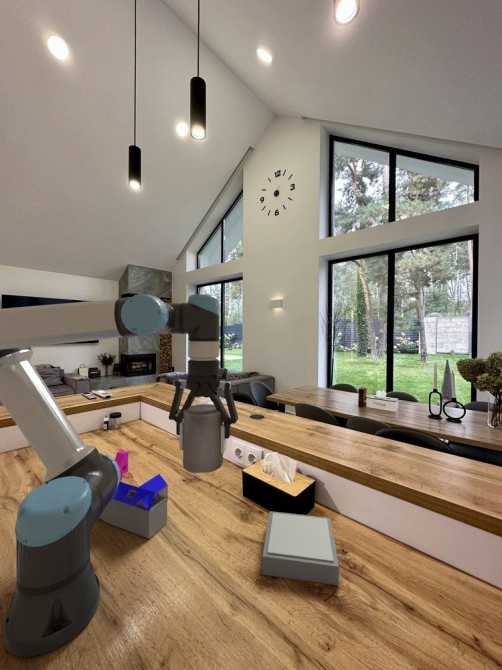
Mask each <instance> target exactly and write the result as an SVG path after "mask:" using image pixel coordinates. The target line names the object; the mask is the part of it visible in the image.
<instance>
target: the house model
mask: <svg viewBox="0 0 502 670" xmlns="http://www.w3.org/2000/svg"><path fill="white" fill-rule="evenodd" d="M168 501H169V484H168V483H167V481H165V479H164V477H162V475H161V474H160V473H158V474H157V475H154V476H153V477H152V478H150V479H149V480H147V481H145V482H144V483H142V484H141V485H139V486H136V485H132V484H128V483H126V482H122V481H120V482H119V485H118V488H117V490H116V493H115V495H114V497H113V498H112V500H111V501H110V502H109V503H108V505H107V506H106V508H105V509H104V511H103V512H102V514H101V515H100V517H99V518H98V519H101V520H103V522H104V523H107V524H110V525H112V526H115V527H118V528H119V529H122V530H126V531H128V532H131V533H133V534H135V535H138V536H141V537H143V538H146V539H148V540H150V539H151V538H152V537H153V536H155V534H156V533H158V532H159V531H160V530H161V529H163V527H164V526H165V525H167V523H168Z"/></svg>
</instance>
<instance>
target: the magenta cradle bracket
mask: <svg viewBox="0 0 502 670" xmlns="http://www.w3.org/2000/svg"><path fill="white" fill-rule="evenodd" d="M114 460H115V461H116V463H117V464H118V466H119V469H120V481H122V480H123V475H125V474H126V473H128V472H129V451H126V450H123V449H121V450H118V451H117V452H116V453H115V457H114Z"/></svg>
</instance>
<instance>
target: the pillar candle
mask: <svg viewBox="0 0 502 670" xmlns="http://www.w3.org/2000/svg"><path fill="white" fill-rule="evenodd" d="M222 424H223V421H222V419H221V417H220V412H219V411H217V410H216V408H215V406H214V404H212V403H211V404H209V403H206V404H205V403H202V404H192V405H191V406H190V407H189V408H188V409H184V417H183V450H182V455H183V456H182V467H183V469H184V470H185V471H186V472H189V473H193V474H200V473H203V474H205V473H206V474H207V473H213V472H216V471H217V470H219V469H221V467H222V466H223V463H224V454H223V453H221V425H222Z"/></svg>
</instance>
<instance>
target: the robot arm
mask: <svg viewBox="0 0 502 670" xmlns="http://www.w3.org/2000/svg"><path fill="white" fill-rule="evenodd" d="M187 297H188V298H187V299H188V300H187V302H181V303H177V302H164V301H163V300H161V299H160V298H158V297H157V296H155V295H152V294H146V293H143V294H135V295H133V296H131V297H127V298H126V297H125V298H115V299H102V300H91V301H89V300H88V301H81V302H79V301H77V302H69V303H68V302H67V303H65V302H64V303H56V304H43V305H32V306H22V307H21V306H19V307H10V308H0V402H1V404H2V405H3V406H4V408H5V410H6V411H7V413H8V414H9V416H10V417H11V419H12V420H13V421H14V423H15V424H16V426H17V428H18V429H19V431H20V432H21V433H22V436H24V438H25V439H26V441H27V442H28V444H29V446H31V448H32V450H33V451H34V453H35V454H36V455H37V457H38V459H39V460H40V462H41V463H42V465H43V466H44V468H45V470H46V473H45V475H44V479H43V484H41V485H39V486H37V487H36V488H34V489H33V490H32V491H30V492H28V494H27V495H26V496H25V497H24V498H23V500H22V501H21V503H20V505H19V506H18V507H17V508H18V509H17V513H16V520H15V525H14V527H15V528H14V534H15V545H16V546H15V550H16V551H15V554H16V555H15V556H16V557H15V558H16V559H15V560H16V561H15V563H16V566H15V567H16V568H15V570H16V573H15V574H16V575H15V577H16V578H15V579H16V585H15V586H16V588H15V591H14V593H13V596H12V600H11V602H10V605H9V608H8V611H7V613H6V616H5V618H4V622H3V646H4V647H5V649H6V651H8V653H10V654H11V655H13V656H17V657H24V658H26V657H27V658H28V657H35V656H38V655H39V654H40V655H43V654H46V653H48V652H51V651H53V650H55V649H57V648H59V647H61V646H63V645H64V644H66V643H67V642H69V641H70V640H72V639H73V638H74V637H76V636H77V635H78V634H79V633H80V632H81V631H83V629H84V628H85V627H86V626H87V625H88V623H90V621H91V620H92V619H93V617H94V615H95V614H96V612H97V610H98V608H99V604H100V601H101V585H100V580H99V577H98V575H97V574H96V572H95V568H94V564H92V563H93V562H92V561H91V533H92V529H93V527H94V526H95V524H96V522H97V521H98V520H99V519H100V518H99V517H100V515H101V514H102V512H103V511H104V509H105V508H106V506H107V505H108V503H109V502H110V501H111V500H112V498H113V497H114V495H115V493H116V490H117V488H118V485H119V482H121V480H120V469H119V466H118V464H117V463H116V461H115V458H113V457H112V456H110V455H109V454H104V453H101V452H100V451H99V449H97V447H96V446H95V445H92V444H86V443H85V442H84V440H83V439H82V438H81V436H80V434H79V433H78V431H77V430H76V429H75V427H74V425H73V423H72V422H71V421H70V419H69V418H68V416H67V415H66V413H65V411H64V410H63V408H62V407H61V405H60V404H59V402H58V401H57V399H56V397H55V396H54V395H53V393H52V392H51V390H50V389H49V387H48V386H47V384H46V383H45V381H44V380H43V378H42V376H41V375H40V374H39V372H38V371H37V369H36V367H35V366H34V364H33V362H32V360H31V359H32V357H33V355H34V351H33V348H31V347H40V346H50V345H59V344H68V343H71V344H72V343H79V342H89V341H99V340H110V339H119V338H131V337H132V338H133V337H141V336H142V337H147V336H154V335H187V337H188V338H187V357H188V358H190V359H189V360H188V361H187V378H186V379H178V380H176V381H175V382H174V387H175V391H174V395H173V399H172V403H171V406H170V407H171V408H170V410H169V414H168V419H169V420H170V421H174V422H175V424H176V425H175V427H176V428H175V429H176V430H175V434H176V435H177V436H179V451H183V417H184V409H188V408H189V407H190V406H192V405H193V403H194V400H196V398H201V397H202V398H206V399H207V398H208V399H210V401H211V402H212V403H213V404H212V405H214V406H215V408H216V410H217V411H219V412H220V417H221V419H222V421H223V424H222V425H221V453H223V455H224V454H225V452H226V451H227V449H228V448H227V444H228V443H227V441H228V439H229V438H230V437H231V434H232V433H231V432H232V431H231V427H232V425H233V424H237V422H238V420H239V416H238V411H237V406H236V403H235V400H234V396H233V392H232V388H233V387H232V386H233V382H232V381H230V380H227V381H223V380H221V378H220V360H219V359H218V358H219V356H220V317H221V316H220V300H219V298H218V297H217V296H216V295H212V294H202V293H199V294H190V295H188V296H187ZM186 387H188V390H190V392H189V393H188V395H187V398H186V400H185V402H184V404H183V405H182V407H181V406H180V405H181V403H182V397H183V396H184V390H185V388H186ZM219 387H221V390H222V391H223V392H224V393H223V394H224V398H225V402H226V405H227V409H226V407H225V405H224V403H223V402H222V399H221V397H220V394H219V393H218V391H217V390H218V389H219ZM180 407H181V409H180ZM179 409H180V410H179ZM227 410H228V412H227Z"/></svg>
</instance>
